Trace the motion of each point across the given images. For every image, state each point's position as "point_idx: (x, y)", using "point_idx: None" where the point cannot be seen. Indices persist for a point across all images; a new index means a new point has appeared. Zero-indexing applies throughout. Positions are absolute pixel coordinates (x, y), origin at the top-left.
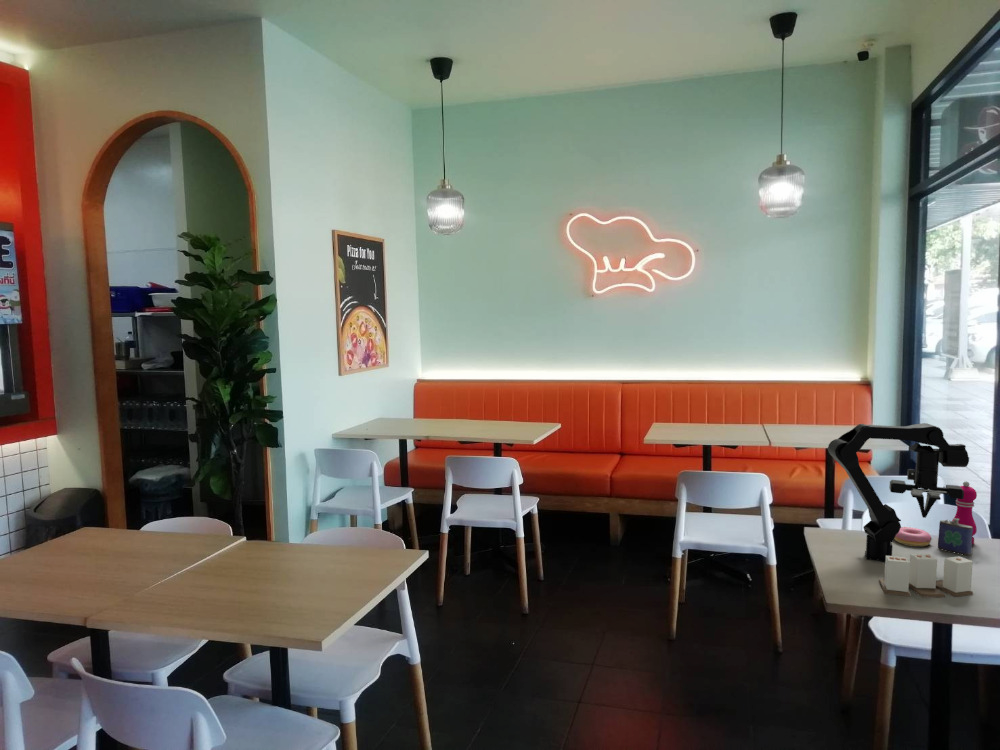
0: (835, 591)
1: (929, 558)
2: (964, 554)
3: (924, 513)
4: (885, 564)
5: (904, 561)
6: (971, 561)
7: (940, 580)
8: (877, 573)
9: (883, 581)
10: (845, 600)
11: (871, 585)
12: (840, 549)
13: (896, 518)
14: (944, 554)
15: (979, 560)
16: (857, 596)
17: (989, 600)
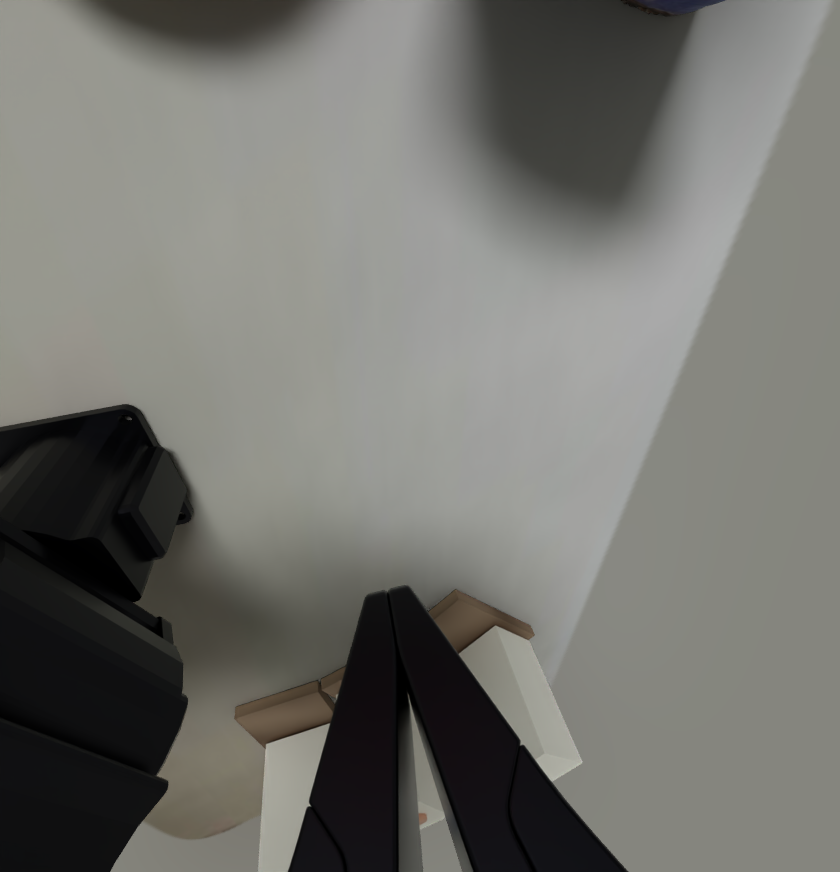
0: (152, 812)
1: (421, 824)
2: (658, 11)
3: (407, 706)
4: (262, 840)
5: None
6: (577, 764)
7: (441, 615)
8: (199, 655)
9: (255, 726)
10: (204, 825)
11: (225, 737)
12: None
13: (116, 835)
14: (498, 95)
15: (717, 119)
16: (220, 799)
17: (567, 634)
